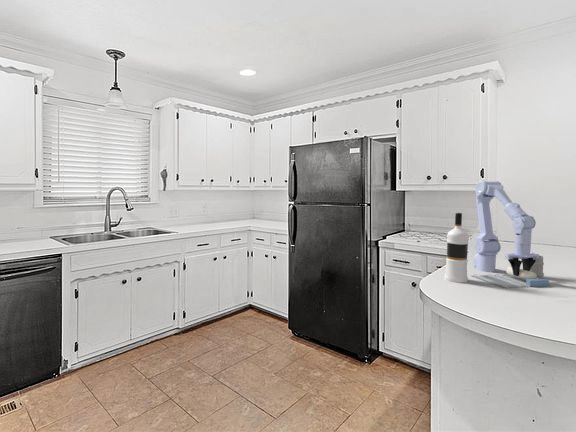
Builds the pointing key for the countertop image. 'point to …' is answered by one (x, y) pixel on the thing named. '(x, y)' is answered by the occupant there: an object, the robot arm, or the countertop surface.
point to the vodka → (457, 253)
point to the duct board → (512, 281)
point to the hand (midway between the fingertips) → (520, 275)
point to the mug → (538, 267)
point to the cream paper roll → (522, 274)
